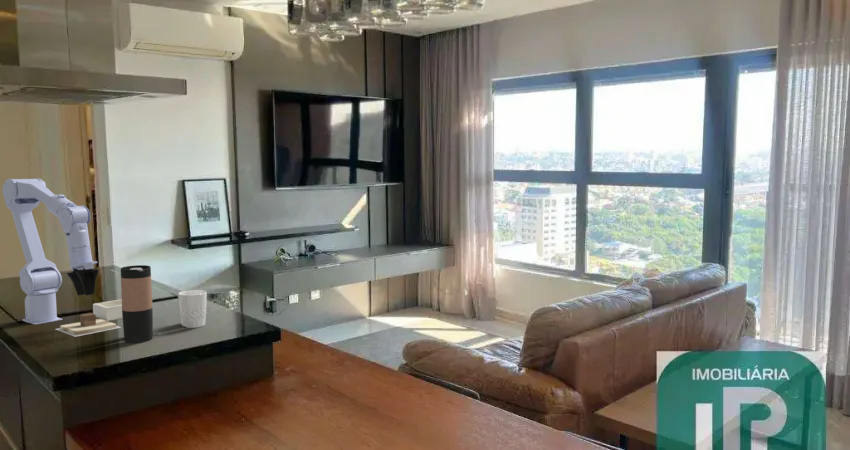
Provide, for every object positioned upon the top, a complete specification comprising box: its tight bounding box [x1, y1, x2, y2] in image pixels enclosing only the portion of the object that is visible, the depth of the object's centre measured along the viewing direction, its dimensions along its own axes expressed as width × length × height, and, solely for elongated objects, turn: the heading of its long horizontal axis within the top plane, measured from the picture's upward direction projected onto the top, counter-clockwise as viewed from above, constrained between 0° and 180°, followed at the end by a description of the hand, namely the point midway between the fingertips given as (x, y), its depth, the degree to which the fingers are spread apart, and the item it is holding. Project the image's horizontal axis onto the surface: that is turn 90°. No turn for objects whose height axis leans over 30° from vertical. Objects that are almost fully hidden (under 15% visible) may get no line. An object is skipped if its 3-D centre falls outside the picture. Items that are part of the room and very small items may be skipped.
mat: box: [54, 325, 123, 338], centre depth 185 cm, size 13×13×1 cm
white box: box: [92, 298, 123, 322], centre depth 199 cm, size 9×9×4 cm
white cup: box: [178, 289, 208, 329], centre depth 190 cm, size 8×8×10 cm
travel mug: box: [120, 264, 154, 344], centre depth 174 cm, size 8×8×20 cm
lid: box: [59, 312, 118, 335], centre depth 184 cm, size 11×11×4 cm
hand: (86, 294), depth 183 cm, fingers open, 7 cm apart
